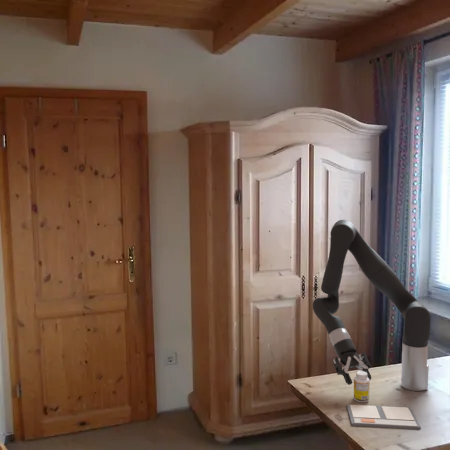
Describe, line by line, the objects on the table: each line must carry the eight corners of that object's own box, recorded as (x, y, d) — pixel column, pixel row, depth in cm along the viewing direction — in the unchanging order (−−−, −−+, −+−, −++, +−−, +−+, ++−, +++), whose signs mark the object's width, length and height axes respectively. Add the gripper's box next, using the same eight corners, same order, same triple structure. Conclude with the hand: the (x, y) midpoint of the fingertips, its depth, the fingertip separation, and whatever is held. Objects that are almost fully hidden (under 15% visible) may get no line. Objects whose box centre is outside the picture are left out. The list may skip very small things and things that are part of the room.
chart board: (410, 409, 178) (410, 406, 178) (420, 429, 164) (420, 425, 164) (346, 406, 181) (346, 403, 181) (351, 425, 167) (351, 422, 167)
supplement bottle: (357, 395, 190) (358, 368, 189) (371, 399, 186) (372, 372, 185) (350, 400, 186) (351, 373, 185) (365, 404, 182) (365, 377, 181)
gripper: (330, 340, 190) (348, 381, 181) (361, 335, 195) (380, 374, 186) (322, 349, 195) (339, 389, 186) (352, 344, 201) (370, 383, 192)
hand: (360, 382), depth 186 cm, fingers open, 8 cm apart
